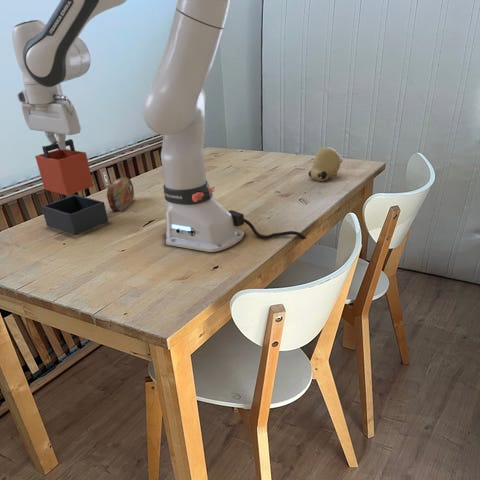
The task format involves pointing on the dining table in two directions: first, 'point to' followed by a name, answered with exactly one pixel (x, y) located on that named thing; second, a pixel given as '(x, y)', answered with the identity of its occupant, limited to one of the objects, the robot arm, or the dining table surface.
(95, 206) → the slate bin
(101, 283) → the dining table surface
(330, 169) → the beige plush toy
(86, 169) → the terracotta bin
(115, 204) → the tin
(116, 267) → the dining table surface
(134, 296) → the dining table surface
